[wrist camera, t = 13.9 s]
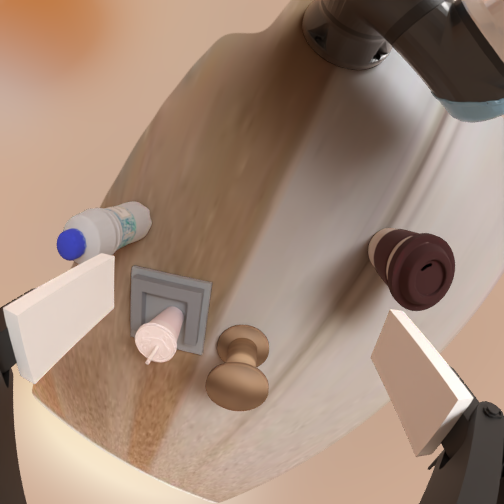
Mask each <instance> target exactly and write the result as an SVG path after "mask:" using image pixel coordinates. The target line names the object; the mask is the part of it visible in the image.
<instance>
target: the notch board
mask: <svg viewBox="0 0 504 504" xmlns="http://www.w3.org/2000/svg"><path fill="white" fill-rule="evenodd" d="M211 289H212V282H208V281H204V280H199V279H194V278H189V277H185V276H180V275H175V274H171V273H166V272H162V271H157V270H153V269H148V268H144V267H140V266H135V265H134V266H132V274H131V337H134V338H135V335H136V332H137V331H138V329H139V328H140V326H142V325H143V324H146V323H149V322H150V321H151V320H152V319H154V318H155V317H156V316H157V315H159V314H160V313H161V312H162V311H163V310H165V309H166V308H167V307H170V306H174V307H177V308H179V309H180V310H181V311H182V313H183V315H184V320H183V323H182V326H181V330H180V333H179V336H178V339H177V349H178V350H182V351H186V352H191V353H195V354H199V355H202V353H203V348H204V340H205V332H206V325H207V317H208V310H209V303H210V296H211Z"/></svg>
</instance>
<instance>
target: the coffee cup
mask: <svg viewBox="0 0 504 504" xmlns="http://www.w3.org/2000/svg"><path fill="white" fill-rule="evenodd" d="M368 255H369V259H370V262H371V263H372V265H373V266H374V267H375V269H376V271H377V273H378V274H379V275H380V277H381V278H382V279H383V280H384V282H385V283H386V284H387V286H388V287H389V290H390V292H391V294H392V296H393V297H394V299H395V300H396V301H397V302H398V303H399V304H400V305H401V306H402V307H404V308H406V309H408V310H412V311H421V310H425V309H428V308H430V307H432V306H434V305H435V304H436V303H438V302H439V301H440V300H441V299H442V298H443V297H444V296H445V294H446V293H447V291H448V290H449V288H450V286H451V283H452V280H453V277H454V272H455V260H454V255H453V252H452V250H451V248H450V246H449V245H448V244H447V242H446V241H444V240H443V239H442V238H440V237H438V236H435V235H433V234H428V233H422V234H419V233H415V232H411V231H407V230H403V229H394V228H385V229H382V230H380V231H379V232H377V233H376V234H375V235H374V236H373V238H372V239H371V241H370V244H369V248H368Z"/></svg>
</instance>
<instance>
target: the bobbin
mask: <svg viewBox="0 0 504 504" xmlns="http://www.w3.org/2000/svg"><path fill="white" fill-rule="evenodd" d="M217 350H218V354H219V356H220V358H221V359H222V360H223V361H224V362H225V363H223V364H220V365H218V366H216V367H215V368H214V369H212V371H211V372H210V373H209V375H208V377H207V381H206V391H207V394H208V396H209V397H210V399H211V400H212V401H213V402H214V403H216V404H217V405H219V406H221V407H223V408H225V409H228V410H233V411H247V410H251V409H254V408H256V407H258V406H260V405H261V404H262V403H263V402H264V401H265V400H266V398H267V396H268V381H267V378H266V376H265V375H264V374H263V373H262V372H261V371H260V370H259V369H258V368H256V367H258V366H260V365H261V364H262V363H263V362H264V361H265V360H266V359H267V357H268V353H269V343H268V340H267V338H266V336H265V335H264V334H263V333H262V332H261V331H260V330H258V329H257V328H255V327H252V326H249V325H235V326H232V327H230V328H228V329H226V330H225V331H224V332H223V333H222V334H221V336H220V338H219V341H218V345H217Z"/></svg>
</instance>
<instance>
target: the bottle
mask: <svg viewBox="0 0 504 504" xmlns="http://www.w3.org/2000/svg"><path fill="white" fill-rule="evenodd" d="M151 225H152V220H151V218H150V211H149V209H148V208H147V207H145V206H143V205H142V204H140V203H139V202H134V201H133V202H126V203H123V204H120V205H118V206H113V207H109V208H104V209H103V208H90V209H86V210H85V211H83V212H81V213H79V214H77V215H75V216H73V217H71V218H70V219H69V220H68V222H67V223H66V225H65V227H64V230H63V232H62V233H61V234H60V235H59V237H58V239H57V249H58V252H59V254H60V255H61V256H62V257H63V258H64V259H66V260H73V261H74V262H76V263H78V264H81V263H83V262H85V261H87V260H89V259H91V258H93V257H95V256H97V255H99V254H101V253H104V254H108V255H113V254H114V253H115V251H116V250H118V249H120V248H121V247H123V246H125V245H127V244H130V243H133V242H135V241H138V240H140V239H142V238H143V237H145V236H146V235H147V233H148V231H149V229H150V227H151Z"/></svg>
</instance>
